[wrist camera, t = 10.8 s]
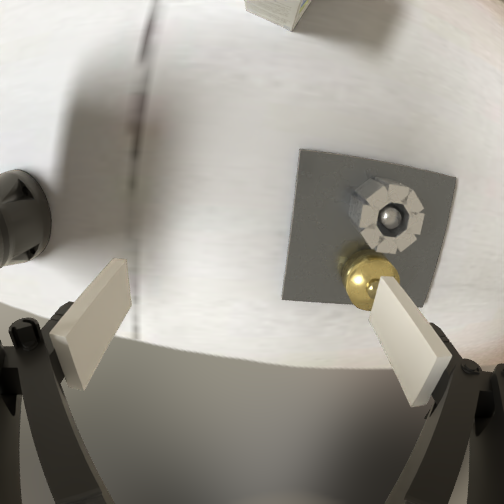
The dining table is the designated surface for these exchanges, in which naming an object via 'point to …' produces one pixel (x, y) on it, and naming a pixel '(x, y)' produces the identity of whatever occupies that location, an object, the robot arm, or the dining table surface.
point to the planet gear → (374, 199)
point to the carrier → (347, 237)
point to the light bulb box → (278, 11)
